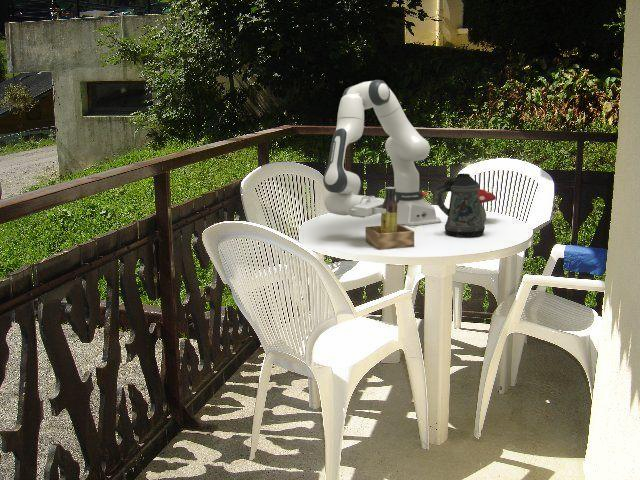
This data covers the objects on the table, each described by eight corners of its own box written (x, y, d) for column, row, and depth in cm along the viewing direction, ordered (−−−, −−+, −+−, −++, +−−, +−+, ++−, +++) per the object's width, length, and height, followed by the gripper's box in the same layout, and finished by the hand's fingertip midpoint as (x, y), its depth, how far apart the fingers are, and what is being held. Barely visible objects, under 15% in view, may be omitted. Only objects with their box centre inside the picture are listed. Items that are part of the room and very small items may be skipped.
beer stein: (492, 235, 321) (494, 175, 315) (454, 240, 312) (455, 178, 307) (468, 228, 335) (469, 170, 330) (430, 233, 327) (431, 174, 321)
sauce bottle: (379, 235, 310) (380, 186, 306) (394, 235, 311) (396, 186, 307) (381, 238, 304) (383, 188, 300) (397, 239, 304) (399, 188, 300)
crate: (400, 238, 317) (400, 224, 316) (414, 246, 303) (414, 231, 301) (365, 241, 313) (365, 226, 312) (377, 249, 299) (377, 234, 298)
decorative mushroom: (467, 226, 340) (468, 192, 336) (453, 219, 355) (454, 186, 351) (501, 223, 343) (502, 190, 340) (486, 217, 358) (487, 185, 355)
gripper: (347, 202, 303) (377, 205, 295) (373, 195, 319) (403, 197, 312) (347, 218, 304) (377, 221, 297) (373, 210, 321) (403, 213, 313)
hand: (391, 209), depth 304 cm, fingers closed on sauce bottle, 6 cm apart
